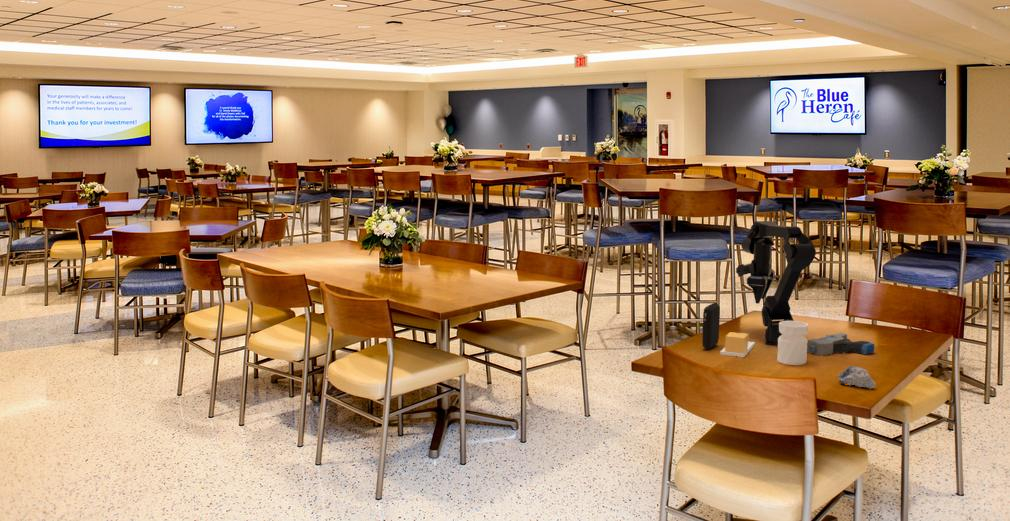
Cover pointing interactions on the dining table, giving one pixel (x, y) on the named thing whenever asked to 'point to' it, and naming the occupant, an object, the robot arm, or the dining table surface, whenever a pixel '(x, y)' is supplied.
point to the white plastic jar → (792, 342)
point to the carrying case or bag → (711, 325)
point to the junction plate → (750, 346)
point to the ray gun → (838, 345)
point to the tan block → (736, 342)
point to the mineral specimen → (856, 377)
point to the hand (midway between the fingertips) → (760, 300)
